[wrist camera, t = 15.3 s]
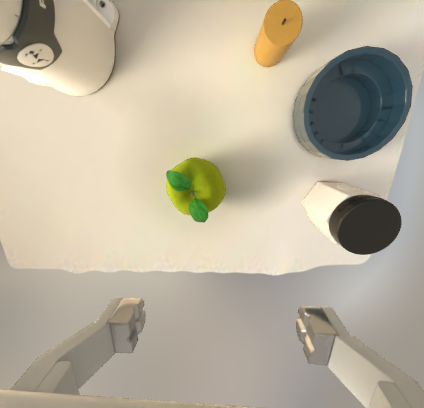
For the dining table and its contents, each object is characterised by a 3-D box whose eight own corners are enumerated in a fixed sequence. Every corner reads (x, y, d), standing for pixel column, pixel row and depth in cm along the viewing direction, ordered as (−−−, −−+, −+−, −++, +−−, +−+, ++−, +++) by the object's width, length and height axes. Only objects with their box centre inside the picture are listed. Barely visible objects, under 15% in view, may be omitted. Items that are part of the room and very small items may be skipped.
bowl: (277, 94, 33) (287, 86, 28) (367, 40, 30) (396, 21, 25) (310, 172, 37) (324, 177, 32) (394, 130, 34) (423, 128, 29)
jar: (354, 181, 37) (414, 200, 25) (344, 222, 39) (395, 256, 28) (304, 180, 37) (341, 197, 26) (298, 221, 40) (329, 253, 28)
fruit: (191, 212, 40) (181, 235, 31) (166, 171, 38) (147, 181, 28) (232, 191, 38) (235, 208, 29) (208, 147, 36) (204, 149, 27)
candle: (249, 43, 31) (258, 10, 23) (276, 25, 30) (296, -16, 22) (261, 73, 32) (274, 51, 24) (288, 56, 31) (311, 28, 24)
